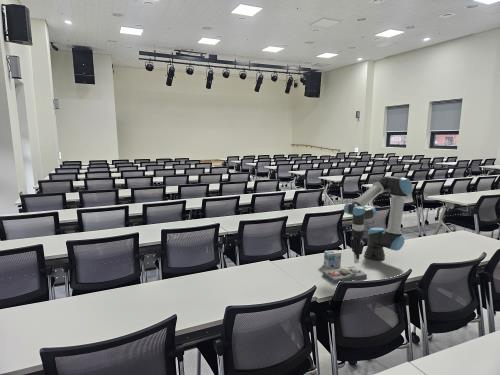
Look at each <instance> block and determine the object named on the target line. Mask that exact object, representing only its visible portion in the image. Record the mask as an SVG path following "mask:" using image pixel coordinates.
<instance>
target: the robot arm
mask: <svg viewBox="0 0 500 375" xmlns="http://www.w3.org/2000/svg"><path fill="white" fill-rule="evenodd" d="M412 189H413V184H412V181H411V180H410V179H409V178H406V177H401V176H393V175H392V176H391V175H387V176H386V175H385V176H384V177H380V178H379V179H377V180H376V181H375V182H373V183H372V186H371V187H370V188H368V189H367V190H366V191H364V192H363V193H362V194H361V195H360V196H359V197H358V198H356V199H355V200H354V201H353V202H351V203H345V205H344V206H343V211H344V213H345V214H347V215H350V216H352V221H351V222H352V224H351V227H352V228H351V235H352V236H350V238H349V239H350V244H351V251H352V253H353V263H354V264H359V262H360V255H362V254H363V250H364V246H365V245H366V242H365V241H363V237H364V235H365V234H364V232H365V220H371V219H373V218H375V217H376V216H377V214H378V213H377V212H378V211H377V209H376V208H375V207H373V206H367V205H369V203H370V202H372V201H373V200H374V199H375V198H376V197H377V196H379V194H383V193H384V192H390V194H389V195H390V196H391V202H390V208H389V215H388V216H389V217H388V224H387V228H386V229H385V228H384V227H371V228H369V229H368V233H367V246H366V248H365V251H364V257H365V258H367V259H369V260H372V261H383V260H385V258H386V254H385V250H384V248H386V249H389V250H391V251H396V252H397V251H400V250H401V249H402V248H403V246H404V244H405V237H404V236H403V232H402V231H401V225H402V220H403V214H404V213H403V212H404V206H405V199H406V198H408V195H410V194H411V193H412ZM366 206H367V207H366Z"/></svg>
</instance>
